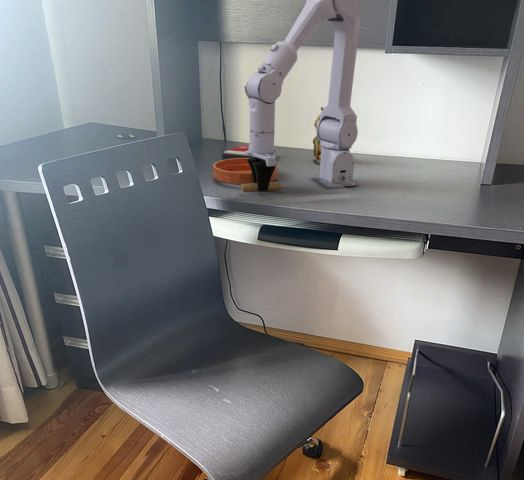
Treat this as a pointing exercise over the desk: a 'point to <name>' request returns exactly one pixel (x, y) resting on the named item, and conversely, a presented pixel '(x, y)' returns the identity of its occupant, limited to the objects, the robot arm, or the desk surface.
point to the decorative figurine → (317, 141)
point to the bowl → (236, 171)
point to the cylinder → (254, 187)
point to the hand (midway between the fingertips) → (261, 190)
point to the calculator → (236, 153)
